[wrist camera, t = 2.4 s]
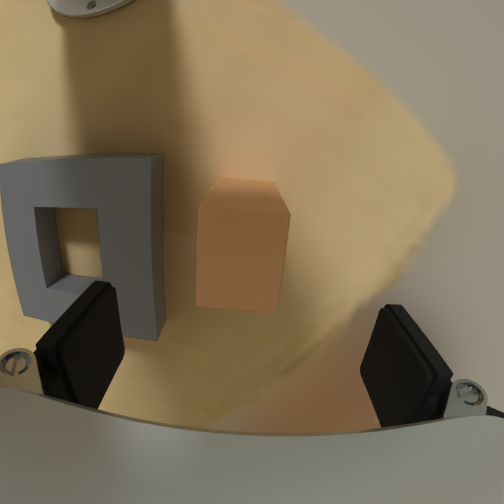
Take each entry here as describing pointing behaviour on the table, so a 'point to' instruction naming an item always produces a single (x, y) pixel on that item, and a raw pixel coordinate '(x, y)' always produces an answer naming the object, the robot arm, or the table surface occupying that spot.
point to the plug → (241, 245)
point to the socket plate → (109, 226)
